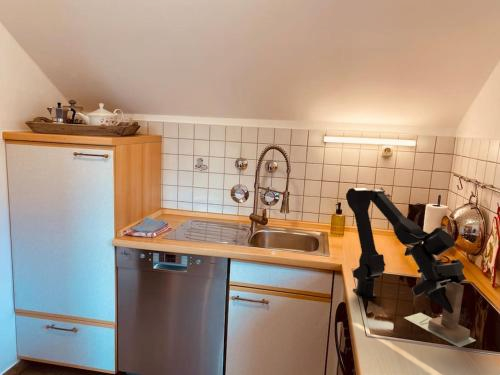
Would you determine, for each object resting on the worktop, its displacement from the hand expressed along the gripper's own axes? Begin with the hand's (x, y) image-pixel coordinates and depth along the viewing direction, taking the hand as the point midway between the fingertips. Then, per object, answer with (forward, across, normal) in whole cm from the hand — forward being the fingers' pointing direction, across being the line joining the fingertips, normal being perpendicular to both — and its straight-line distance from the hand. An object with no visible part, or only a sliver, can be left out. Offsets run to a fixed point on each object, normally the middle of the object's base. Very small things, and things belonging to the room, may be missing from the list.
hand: (455, 311), depth 111 cm
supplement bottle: (-12, +27, +25) cm, 39 cm away
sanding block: (+4, 0, +6) cm, 7 cm away
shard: (-8, -9, +22) cm, 25 cm away
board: (+3, 0, +9) cm, 10 cm away
